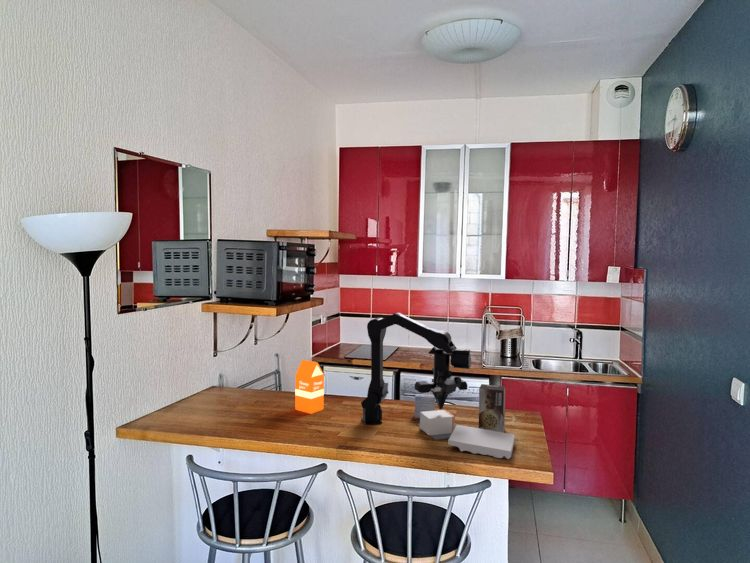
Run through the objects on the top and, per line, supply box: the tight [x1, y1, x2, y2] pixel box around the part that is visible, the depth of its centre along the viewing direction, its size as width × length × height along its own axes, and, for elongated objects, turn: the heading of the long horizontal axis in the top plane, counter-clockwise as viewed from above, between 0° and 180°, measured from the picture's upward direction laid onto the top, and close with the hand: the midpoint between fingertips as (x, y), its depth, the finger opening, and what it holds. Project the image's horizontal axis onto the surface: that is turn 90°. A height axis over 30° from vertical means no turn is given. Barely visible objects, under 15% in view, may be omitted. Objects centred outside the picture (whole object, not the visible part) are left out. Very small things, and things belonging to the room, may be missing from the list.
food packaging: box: [447, 424, 516, 460], centre depth 172 cm, size 15×3×20 cm
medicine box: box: [414, 393, 436, 419], centre depth 202 cm, size 8×4×9 cm, turn 84°
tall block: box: [419, 409, 456, 436], centre depth 186 cm, size 6×8×10 cm
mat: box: [416, 423, 458, 441], centre depth 187 cm, size 14×16×1 cm
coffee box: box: [477, 383, 506, 433], centre depth 188 cm, size 9×6×16 cm
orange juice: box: [294, 359, 325, 415], centre depth 208 cm, size 8×9×20 cm
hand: (440, 408), depth 186 cm, fingers closed
